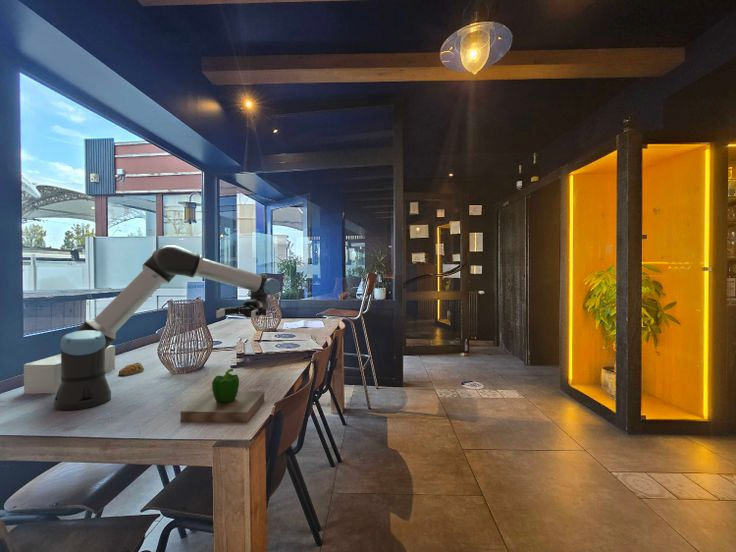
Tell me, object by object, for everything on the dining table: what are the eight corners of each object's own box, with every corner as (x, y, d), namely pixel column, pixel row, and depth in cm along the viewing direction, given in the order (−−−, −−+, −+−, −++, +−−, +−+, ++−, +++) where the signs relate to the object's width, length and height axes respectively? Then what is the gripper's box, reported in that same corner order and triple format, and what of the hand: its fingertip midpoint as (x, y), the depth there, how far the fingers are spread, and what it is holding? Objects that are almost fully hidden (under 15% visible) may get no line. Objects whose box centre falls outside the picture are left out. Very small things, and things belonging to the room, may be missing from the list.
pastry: (127, 377, 149) (127, 368, 149) (113, 376, 150) (113, 367, 150) (145, 371, 158) (145, 362, 158) (132, 370, 159) (132, 361, 159)
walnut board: (180, 421, 107) (180, 411, 107) (207, 399, 125) (207, 390, 125) (247, 422, 107) (247, 412, 107) (264, 400, 125) (264, 391, 125)
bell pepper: (217, 407, 110) (218, 375, 110) (208, 400, 116) (208, 369, 116) (244, 401, 116) (244, 370, 115) (233, 394, 122) (233, 365, 121)
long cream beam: (90, 369, 160) (90, 345, 159) (115, 369, 160) (114, 345, 160) (23, 394, 128) (23, 364, 127) (54, 394, 128) (54, 364, 128)
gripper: (279, 317, 160) (266, 324, 139) (224, 316, 160) (202, 323, 139) (279, 300, 160) (266, 305, 139) (224, 299, 160) (202, 304, 139)
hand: (234, 314), depth 139 cm, fingers open, 13 cm apart
